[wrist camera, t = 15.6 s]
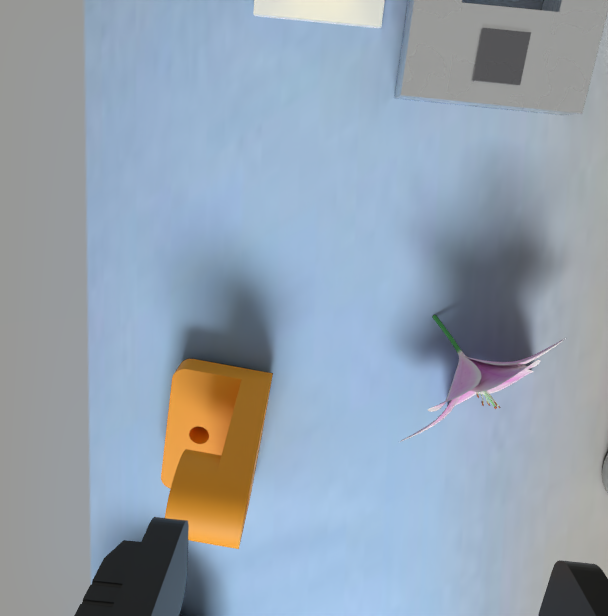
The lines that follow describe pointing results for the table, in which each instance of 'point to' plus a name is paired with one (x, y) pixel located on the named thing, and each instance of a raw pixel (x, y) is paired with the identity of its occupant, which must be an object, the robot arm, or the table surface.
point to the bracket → (213, 447)
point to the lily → (480, 377)
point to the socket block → (501, 54)
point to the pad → (324, 11)
